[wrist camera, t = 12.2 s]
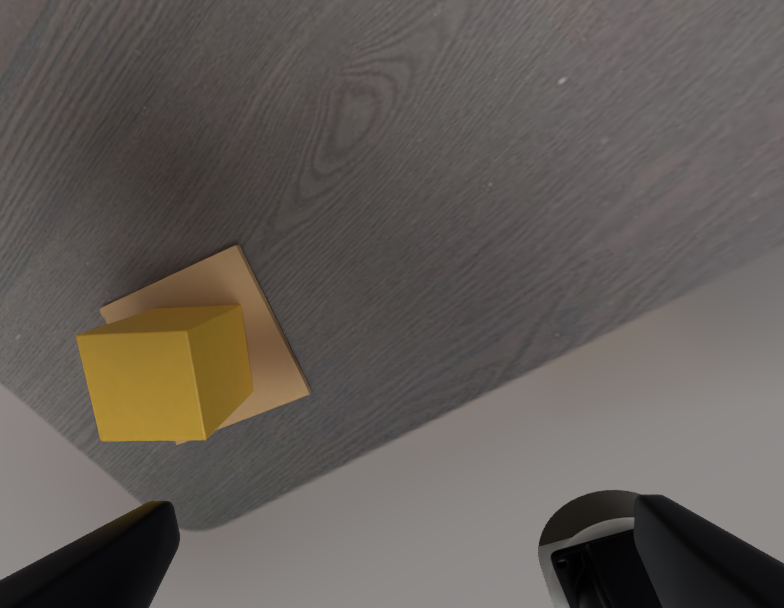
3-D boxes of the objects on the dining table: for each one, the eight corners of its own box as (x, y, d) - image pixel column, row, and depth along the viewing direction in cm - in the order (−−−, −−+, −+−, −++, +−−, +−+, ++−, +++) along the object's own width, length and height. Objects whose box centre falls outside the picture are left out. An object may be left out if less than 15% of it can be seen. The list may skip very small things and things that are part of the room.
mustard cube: (254, 391, 20) (206, 441, 16) (169, 393, 21) (100, 442, 16) (241, 304, 19) (186, 330, 15) (153, 308, 20) (74, 334, 15)
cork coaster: (312, 391, 20) (310, 394, 20) (181, 441, 22) (176, 445, 21) (239, 244, 19) (235, 244, 19) (104, 307, 20) (98, 309, 20)
